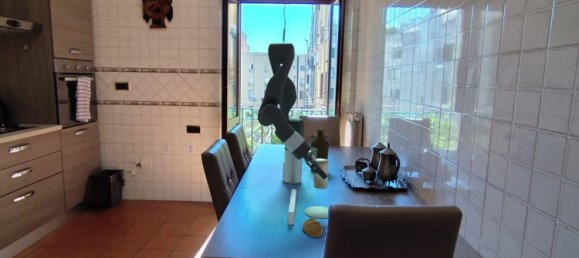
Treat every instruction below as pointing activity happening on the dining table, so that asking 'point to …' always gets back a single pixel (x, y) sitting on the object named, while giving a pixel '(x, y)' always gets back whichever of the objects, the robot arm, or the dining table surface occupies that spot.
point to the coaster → (317, 212)
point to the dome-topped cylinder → (318, 181)
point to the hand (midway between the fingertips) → (325, 175)
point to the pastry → (312, 227)
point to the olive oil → (320, 146)
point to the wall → (292, 207)
